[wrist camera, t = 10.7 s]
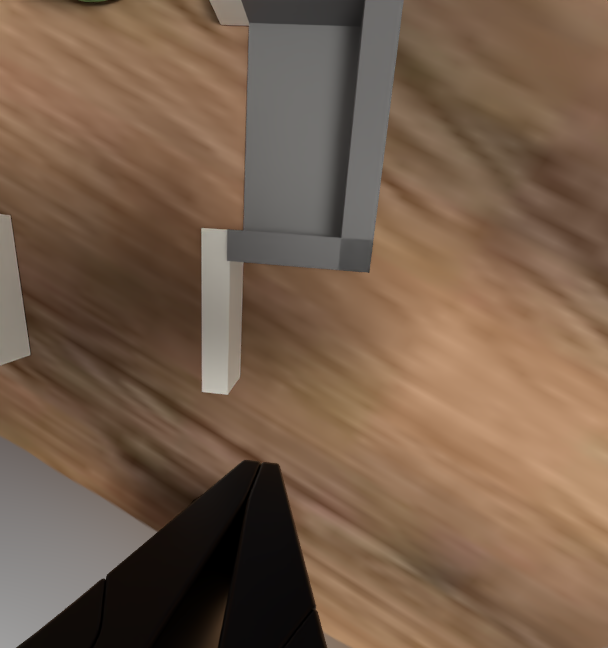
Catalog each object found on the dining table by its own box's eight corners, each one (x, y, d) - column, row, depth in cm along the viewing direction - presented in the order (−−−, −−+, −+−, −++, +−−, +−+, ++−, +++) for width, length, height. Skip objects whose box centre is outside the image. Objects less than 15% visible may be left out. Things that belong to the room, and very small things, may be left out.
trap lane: (348, 388, 19) (352, 417, 16) (-84, 342, 21) (-163, 360, 18) (428, -279, 12) (466, -481, 9) (-228, -261, 14) (-403, -423, 11)
